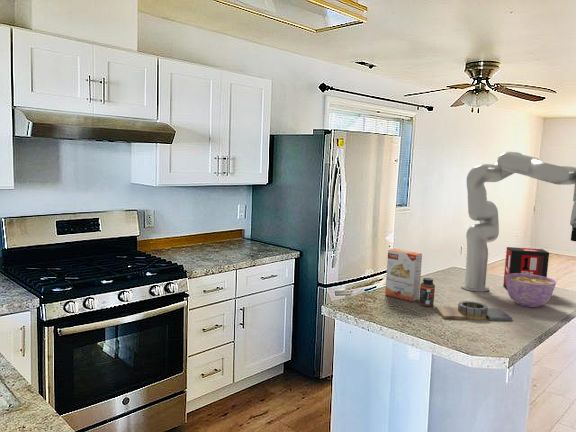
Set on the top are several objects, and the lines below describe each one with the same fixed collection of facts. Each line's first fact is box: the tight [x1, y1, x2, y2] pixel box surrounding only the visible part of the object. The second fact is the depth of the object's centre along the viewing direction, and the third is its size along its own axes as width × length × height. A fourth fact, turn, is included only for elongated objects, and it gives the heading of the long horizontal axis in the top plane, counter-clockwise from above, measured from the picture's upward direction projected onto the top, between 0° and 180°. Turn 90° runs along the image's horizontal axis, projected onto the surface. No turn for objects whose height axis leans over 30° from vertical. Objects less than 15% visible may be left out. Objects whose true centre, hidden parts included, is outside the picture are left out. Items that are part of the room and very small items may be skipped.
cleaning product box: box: [502, 246, 550, 292], centre depth 237 cm, size 16×9×20 cm, turn 81°
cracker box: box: [385, 248, 423, 303], centre depth 217 cm, size 14×6×21 cm, turn 48°
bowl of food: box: [505, 273, 557, 308], centre depth 213 cm, size 20×20×12 cm
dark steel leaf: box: [457, 300, 513, 322], centre depth 197 cm, size 19×12×4 cm, turn 91°
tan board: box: [434, 306, 487, 321], centre depth 197 cm, size 19×12×2 cm, turn 91°
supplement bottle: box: [418, 277, 436, 307], centre depth 208 cm, size 6×6×11 cm
